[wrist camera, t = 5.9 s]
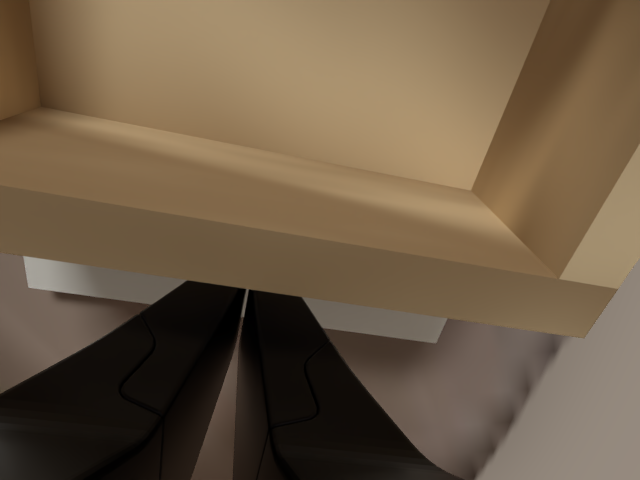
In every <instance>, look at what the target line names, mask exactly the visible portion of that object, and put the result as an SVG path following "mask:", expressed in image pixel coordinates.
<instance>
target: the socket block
mask: <svg viewBox="0 0 640 480" xmlns="http://www.w3.org/2000/svg"><path fill="white" fill-rule="evenodd" d="M0 253H6V254H13V255H20V256H27V257H33V258H40V259H47V260H54V261H61V262H67V263H74V264H81V265H88V266H95V267H101V268H108V269H115V270H122V271H129V272H135V273H142V274H149V275H156V276H163V277H170V278H176V279H183V280H190V281H197V282H204V283H210V284H217V285H224V286H231V287H238V288H244V289H251V290H258V291H265V292H272V293H278V294H285V295H292V296H299V297H306V298H313V299H319V300H326V301H333V302H340V303H347V304H353V305H360V306H367V307H374V308H381V309H387V310H394V311H401V312H408V313H415V314H421V315H428V316H435V317H442V318H449V319H455V320H462V321H469V322H476V323H483V324H490V325H496V326H503V327H510V328H517V329H524V330H530V331H537V332H544V333H551V334H558V335H564V336H571V337H578V338H585V336H586V335H587V333H588V332H589V330H590V329H591V328H592V326H593V325H594V323H595V322H596V320H597V319H598V317H599V316H600V315H601V313H602V312H603V310H604V309H605V307H606V306H607V304H608V303H609V301H610V300H611V299H612V297H613V296H614V294H615V293H616V291H617V290H618V289H619V287H620V286H621V284H622V283H623V281H624V280H625V278H626V277H627V276H628V274H629V273H630V271H631V270H632V268H633V267H634V265H635V264H636V262H637V261H638V259H639V258H640V0H0Z"/></svg>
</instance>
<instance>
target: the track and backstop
mask: <svg viewBox="0 0 640 480" xmlns="http://www.w3.org/2000/svg"><path fill="white" fill-rule="evenodd" d="M23 257H24V263H25V269H26V276H27V282H28V288H35V289H42V290H49V291H57V292H64V293H71V294H79V295H86V296H93V297H100V298H108V299H115V300H122V301H130V302H137V303H144V304H153V303H155V302H156V301H158V300H159V299H160V298H162V297H163V296H165V295H166V294H168V293H169V292H171V291H172V290H174V289H175V288H176V287H178V286H179V285H181V284H182V283H184V282H185V281H187V280H183V279H176V278H170V277H163V276H156V275H149V274H142V273H135V272H129V271H122V270H115V269H108V268H101V267H95V266H88V265H81V264H74V263H67V262H61V261H54V260H47V259H40V258H33V257H27V256H23ZM248 291H249V289H246V294H245V299H244V304H243V310H242V315H241V317H244V314H245V308H246V302H247V296H248ZM302 298H303V299H304V301H305V302H306V304H307V305H308V307H309V308H310V310H311V311H312V313H313V314H314V316H315V317H316V319H317V321H318V322H319V324H320V325H321V327H322V328H327V329H334V330H341V331H348V332H356V333H363V334H370V335H378V336H385V337H392V338H399V339H407V340H414V341H421V342H429V343H436V342H437V340H438V338H439V336H440V334H441V332H442V329H443V327H444V325H445V323H446V321H447V319H448V318H442V317H435V316H428V315H421V314H415V313H408V312H401V311H394V310H387V309H381V308H374V307H367V306H360V305H353V304H347V303H340V302H333V301H326V300H319V299H313V298H306V297H302Z"/></svg>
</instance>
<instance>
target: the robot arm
mask: <svg viewBox="0 0 640 480" xmlns="http://www.w3.org/2000/svg"><path fill="white" fill-rule="evenodd" d="M245 294H246V289H244V288H238V287H231V286H224V285H217V284H210V283H204V282H197V281H190V280H187V281H185V282H184V283H182V284H181V285H179V286H178V287H176V288H175V289H174V290H172V291H171V292H169V293H168V294H166V295H165V296H163V297H162V298H160V299H159V300H158V301H156V302H155V303H153V304H152V305H150V306H149V307H147V308H146V309H144V310H143V311H141V312H140V314H137V315H135V316H134V317H132V318H131V319H130V320H128V321H127V322H125V323H124V324H122V325H121V326H119V327H118V328H116V329H114V330H113V331H111V332H110V333H108V334H107V335H105V336H104V337H102V338H100V339H99V340H97V341H95V342H93V343H92V344H90V345H88V346H87V347H85V348H83V349H81V350H80V351H78V352H76V353H74V354H73V355H71V356H69V357H67V358H65V359H63V360H62V361H60V362H58V363H56V364H54V365H52V366H51V367H49V368H47V369H45V370H43V371H41V372H40V373H38V374H36V375H34V376H32V377H30V378H29V379H27V380H25V381H23V382H21V383H19V384H18V385H16V386H14V387H12V388H10V389H8V390H7V391H5V392H3V393H1V394H0V480H191V477H192V474H193V471H194V468H195V465H196V462H197V459H198V456H199V453H200V450H201V447H202V444H203V441H204V438H205V435H206V432H207V429H208V426H209V423H210V420H211V418H212V415H213V412H214V409H215V406H216V403H217V400H218V397H219V394H220V391H221V388H222V385H223V382H224V379H225V376H226V373H227V370H228V367H229V364H230V361H231V358H232V355H233V352H234V349H235V345H236V340H237V336H238V331H239V325H240V320H241V315H242V310H243V304H244V299H245ZM233 480H464V479H462V478H459V477H457V476H454V475H452V474H450V473H448V472H446V471H444V470H442V469H441V468H439V467H437V466H436V465H435V464H433V463H432V462H431V461H429V460H428V459H427V458H426V457H425V456H424V455H423V454H422V453H420V452H419V450H418V449H417V448H416V447H415V446H414V445H413V444H412V443H411V442H410V440H409V439H408V438H407V437H406V436H405V435H404V433H403V432H402V431H401V430H400V429H399V427H398V426H397V425H396V424H395V423H394V422H393V420H392V419H391V418H390V417H389V416H388V414H387V413H386V412H385V411H384V410H383V409H382V407H381V406H380V405H379V404H378V403H377V401H376V400H375V399H374V398H373V397H372V396H371V394H370V393H369V392H368V391H367V390H366V388H365V387H364V386H363V385H362V383H361V382H360V381H359V380H358V378H357V377H356V376H355V375H354V373H353V372H352V371H351V369H350V368H349V366H348V365H347V364H346V362H345V361H344V359H343V358H342V357H341V355H340V354H339V352H338V351H337V349H336V348H335V346H334V345H333V343H332V342H330V339H329V337H328V336H327V334H326V333H325V331H324V330H323V328H322V327H321V325H320V324H319V322H318V321H317V319H316V317H315V316H314V314H313V313H312V311H311V310H310V308H309V307H308V305H307V304H306V302H305V301H304V299H303V298H302V297H299V296H292V295H285V294H278V293H272V292H265V291H258V290H251V289H249V291H248V296H247V302H246V308H245V314H244V320H243V325H242V331H241V337H240V344H239V353H238V372H237V394H236V417H235V439H234V461H233Z"/></svg>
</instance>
